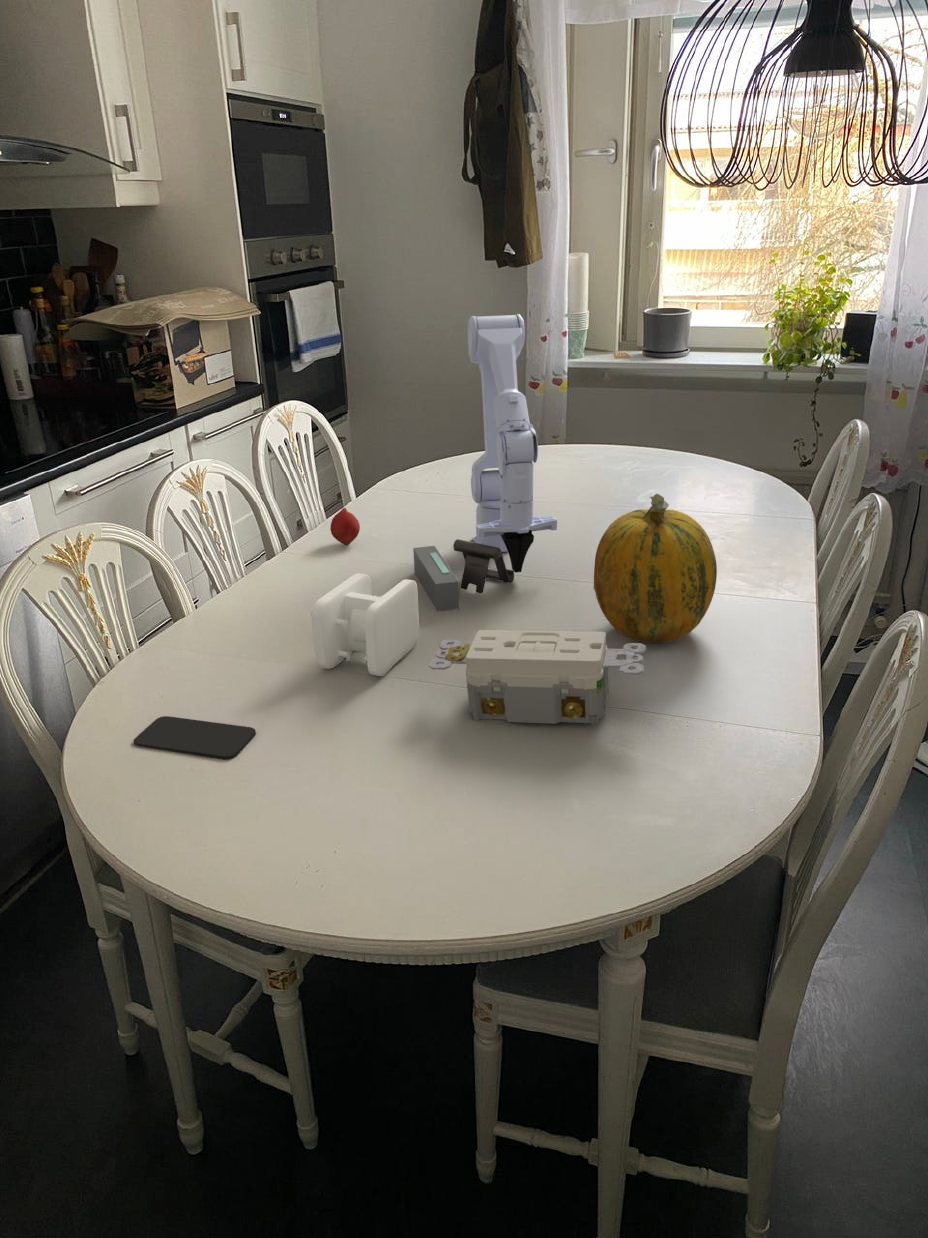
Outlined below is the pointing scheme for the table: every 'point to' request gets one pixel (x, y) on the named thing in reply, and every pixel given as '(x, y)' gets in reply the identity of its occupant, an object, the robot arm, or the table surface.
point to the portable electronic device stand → (481, 564)
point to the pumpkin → (655, 573)
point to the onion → (345, 527)
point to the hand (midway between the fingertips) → (516, 570)
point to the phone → (195, 737)
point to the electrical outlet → (538, 674)
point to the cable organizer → (365, 624)
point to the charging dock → (436, 578)
